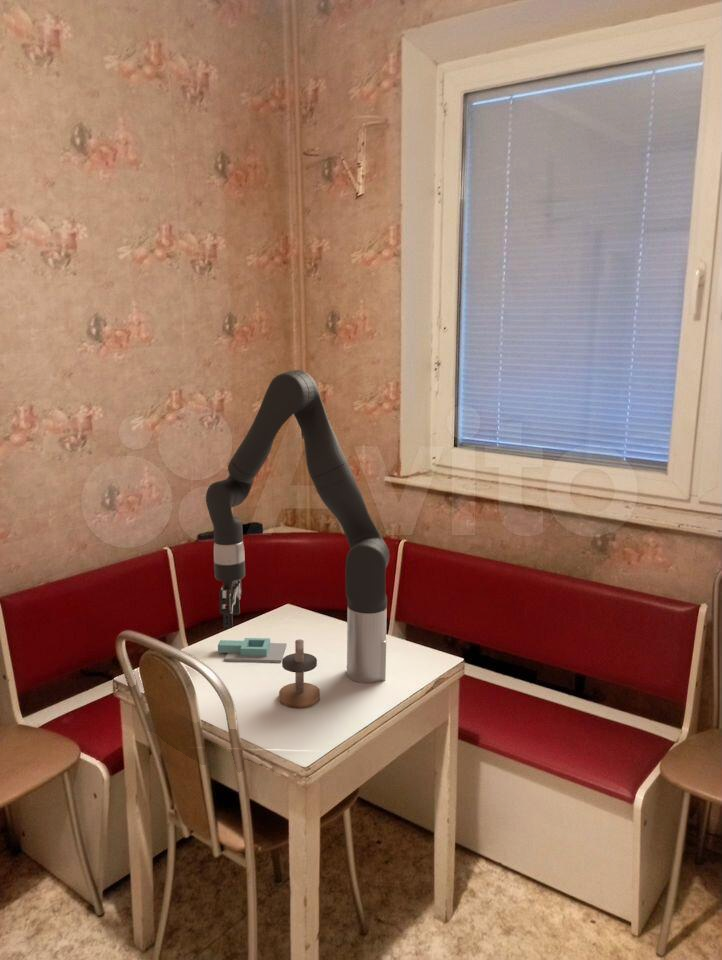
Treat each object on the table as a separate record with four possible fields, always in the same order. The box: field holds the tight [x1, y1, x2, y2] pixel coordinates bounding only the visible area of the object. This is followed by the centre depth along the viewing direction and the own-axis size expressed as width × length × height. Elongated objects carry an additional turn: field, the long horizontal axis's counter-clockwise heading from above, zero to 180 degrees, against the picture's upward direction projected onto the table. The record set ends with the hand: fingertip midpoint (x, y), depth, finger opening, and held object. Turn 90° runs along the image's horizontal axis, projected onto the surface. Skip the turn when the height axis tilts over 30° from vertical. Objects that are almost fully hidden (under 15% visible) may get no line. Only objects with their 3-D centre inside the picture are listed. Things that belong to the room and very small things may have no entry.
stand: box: [278, 639, 321, 710], centre depth 155 cm, size 9×9×14 cm
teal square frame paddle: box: [217, 637, 271, 657], centre depth 179 cm, size 12×6×2 cm, turn 89°
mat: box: [224, 642, 287, 664], centre depth 179 cm, size 14×10×1 cm
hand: (232, 620), depth 178 cm, fingers open, 8 cm apart
